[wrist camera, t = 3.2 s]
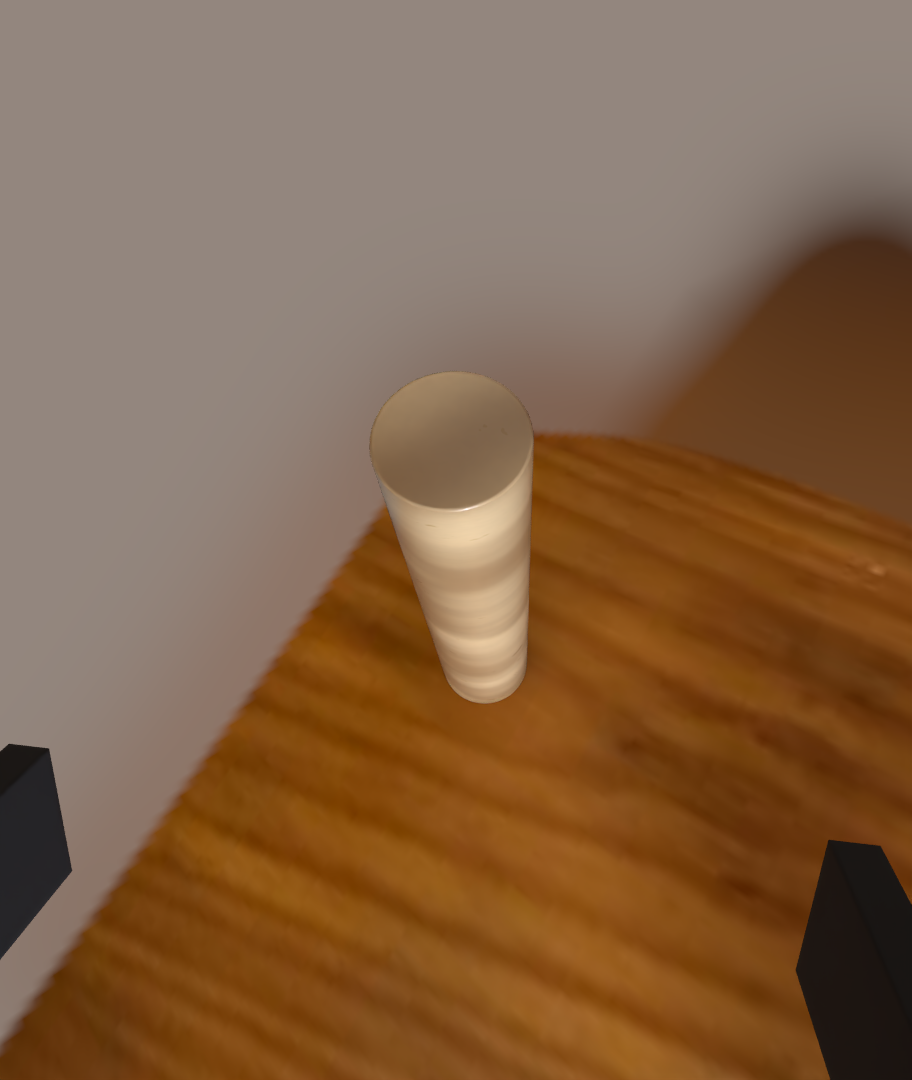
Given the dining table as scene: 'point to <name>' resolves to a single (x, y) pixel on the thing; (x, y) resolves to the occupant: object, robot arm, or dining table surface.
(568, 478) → the dining table surface
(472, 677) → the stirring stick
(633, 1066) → the dining table surface
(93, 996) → the dining table surface
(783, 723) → the dining table surface
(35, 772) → the robot arm
